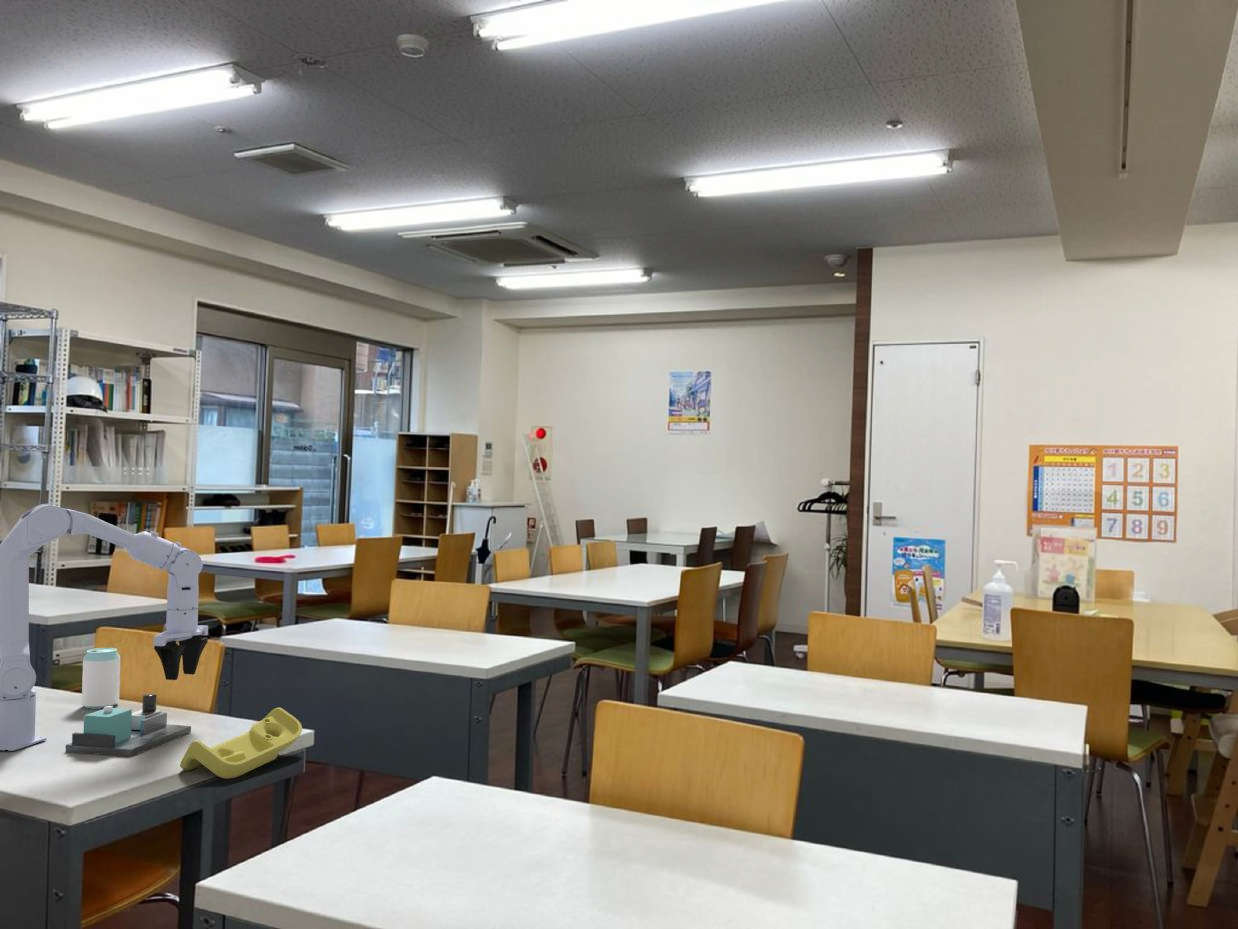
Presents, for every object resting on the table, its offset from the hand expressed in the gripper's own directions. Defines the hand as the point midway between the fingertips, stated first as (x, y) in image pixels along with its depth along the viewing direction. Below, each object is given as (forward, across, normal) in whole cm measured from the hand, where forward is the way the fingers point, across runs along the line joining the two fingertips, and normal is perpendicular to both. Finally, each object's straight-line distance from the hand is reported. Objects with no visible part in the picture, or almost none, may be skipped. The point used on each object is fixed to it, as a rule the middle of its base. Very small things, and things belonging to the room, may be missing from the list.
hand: (180, 676), depth 190 cm
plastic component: (+10, -20, -27) cm, 35 cm away
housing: (+8, -18, +2) cm, 20 cm away
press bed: (+9, -14, 0) cm, 17 cm away
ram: (+8, -8, +2) cm, 11 cm away
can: (+10, +10, +26) cm, 29 cm away
